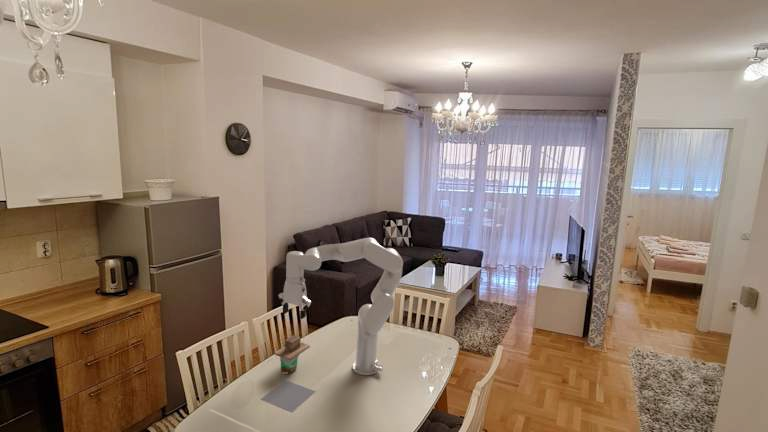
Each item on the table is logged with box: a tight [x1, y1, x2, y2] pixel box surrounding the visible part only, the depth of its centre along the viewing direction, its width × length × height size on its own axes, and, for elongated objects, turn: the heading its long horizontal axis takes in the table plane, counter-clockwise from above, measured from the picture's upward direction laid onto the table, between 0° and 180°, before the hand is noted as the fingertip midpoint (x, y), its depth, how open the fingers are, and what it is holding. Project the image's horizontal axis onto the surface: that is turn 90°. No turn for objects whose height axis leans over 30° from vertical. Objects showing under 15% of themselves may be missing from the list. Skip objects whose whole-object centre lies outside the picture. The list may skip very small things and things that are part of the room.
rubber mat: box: [260, 379, 317, 413], centre depth 169 cm, size 16×16×1 cm
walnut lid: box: [274, 334, 311, 360], centre depth 186 cm, size 9×14×6 cm, turn 154°
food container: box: [279, 354, 300, 375], centre depth 187 cm, size 12×6×10 cm, turn 168°
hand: (294, 315), depth 183 cm, fingers open, 9 cm apart
